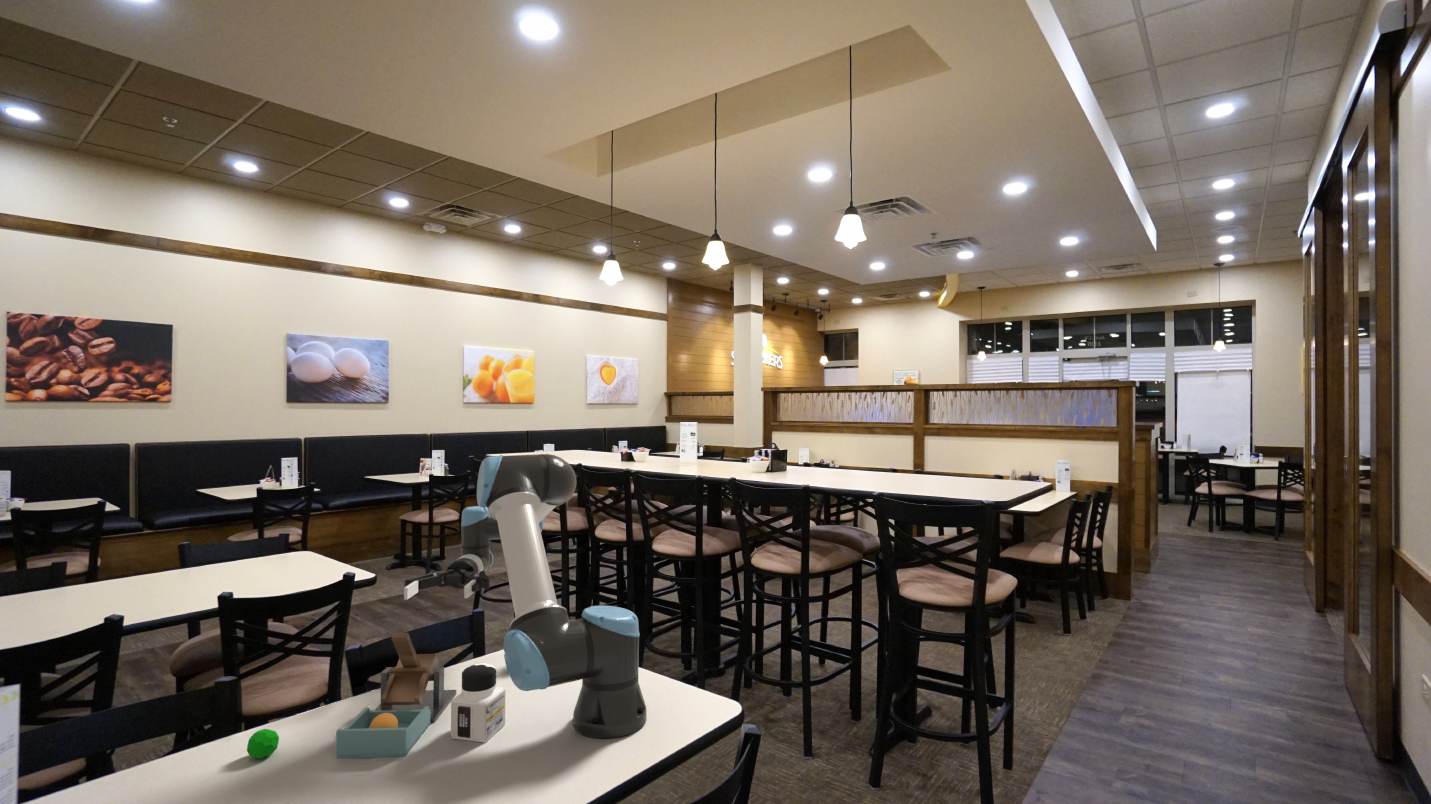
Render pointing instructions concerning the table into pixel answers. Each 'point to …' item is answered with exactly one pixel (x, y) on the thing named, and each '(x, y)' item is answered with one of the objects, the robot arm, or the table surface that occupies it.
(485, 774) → the table surface
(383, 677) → the stand
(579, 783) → the table surface
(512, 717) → the table surface
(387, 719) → the ball
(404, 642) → the brown wooden catapult
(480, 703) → the container
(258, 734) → the polyhedron
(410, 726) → the tray
